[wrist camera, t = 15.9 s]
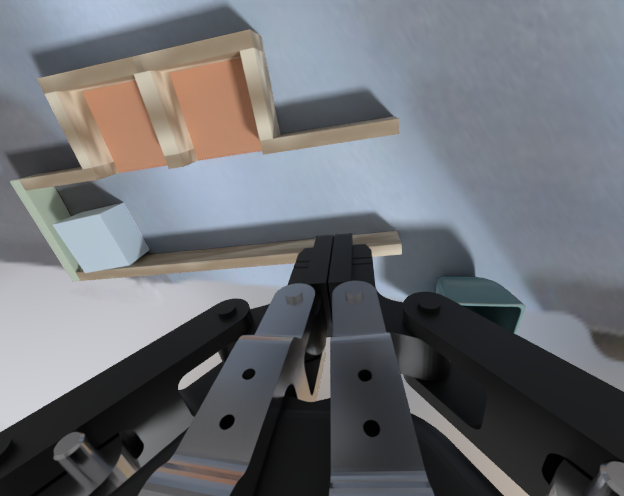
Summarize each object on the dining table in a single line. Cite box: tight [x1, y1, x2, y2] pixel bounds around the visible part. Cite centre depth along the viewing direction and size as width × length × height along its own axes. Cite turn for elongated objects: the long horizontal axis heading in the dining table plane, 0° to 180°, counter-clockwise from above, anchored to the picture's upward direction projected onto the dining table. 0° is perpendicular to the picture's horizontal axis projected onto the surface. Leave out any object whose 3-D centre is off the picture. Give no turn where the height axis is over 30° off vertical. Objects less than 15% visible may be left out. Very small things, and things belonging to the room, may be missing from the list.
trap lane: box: [10, 29, 402, 281], centre depth 37 cm, size 26×50×4 cm, turn 99°
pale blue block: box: [53, 203, 150, 273], centre depth 43 cm, size 8×8×5 cm
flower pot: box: [436, 276, 525, 334], centre depth 39 cm, size 9×9×9 cm
